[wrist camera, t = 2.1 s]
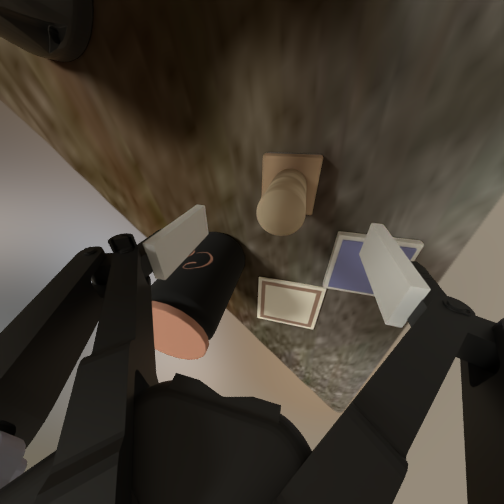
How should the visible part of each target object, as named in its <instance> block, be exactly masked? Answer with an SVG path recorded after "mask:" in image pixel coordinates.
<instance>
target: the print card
mask: <svg viewBox="0 0 504 504" xmlns="http://www.w3.org/2000/svg"><path fill="white" fill-rule="evenodd" d="M325 292H326V288H323V287H320V286H314V285H308V284H302V283H296V282H290V281H284V280H278V279H273V278H267V277H261V276H259V283H258V314H257V318H261V319H266V320H271V321H275V322H280V323H285V324H290V325H294V326H299V327H304V328H308V329H314V326H315V323H316V320H317V317H318V314H319V311H320V308H321V304H322V301H323V298H324V295H325Z"/></svg>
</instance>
